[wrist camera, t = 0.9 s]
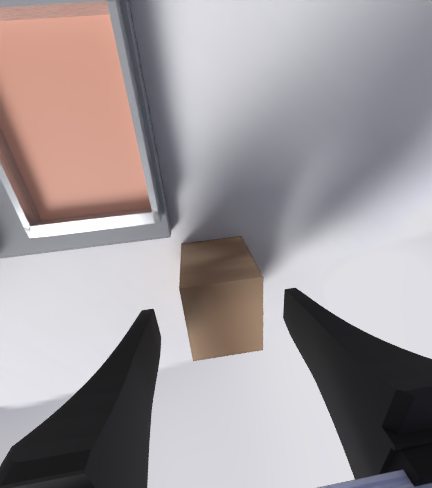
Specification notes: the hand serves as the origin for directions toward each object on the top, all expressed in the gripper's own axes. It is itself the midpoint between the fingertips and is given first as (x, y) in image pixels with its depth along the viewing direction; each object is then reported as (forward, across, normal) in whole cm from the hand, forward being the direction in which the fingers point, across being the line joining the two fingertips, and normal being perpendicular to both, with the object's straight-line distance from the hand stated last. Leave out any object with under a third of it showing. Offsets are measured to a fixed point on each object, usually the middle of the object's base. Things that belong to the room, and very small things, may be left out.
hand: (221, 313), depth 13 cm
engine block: (+4, 0, 0) cm, 4 cm away
